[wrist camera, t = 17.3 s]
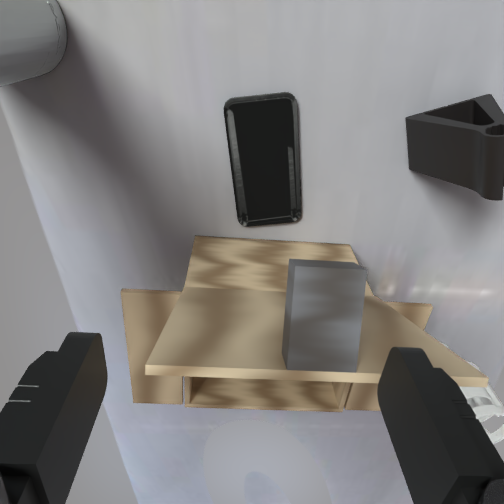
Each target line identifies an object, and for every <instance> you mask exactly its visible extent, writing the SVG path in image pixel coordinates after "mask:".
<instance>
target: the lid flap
mask: <svg viewBox="0 0 504 504" xmlns="http://www.w3.org/2000/svg"><path fill="white" fill-rule="evenodd" d="M366 279H367V269H365V268H363V267H361V266H360V265H358V264H356V263H355V262H341V261H323V260H305V259H289V265H288V278H287V290H286V292H280V291H260V290H240V289H220V288H200V287H184V288H183V290H182V292H181V294H180V296H179V298H178V300H177V302H176V304H175V306H174V308H173V310H172V312H171V314H170V316H169V318H168V320H167V322H166V324H165V326H164V328H163V330H162V332H161V335H160V337H159V339H158V341H157V343H156V345H155V347H154V349H153V351H152V353H151V355H150V357H149V359H148V361H147V363H146V365H145V375H161V376H189V377H216V378H243V379H271V380H298V381H325V382H352V383H379V380H380V377H381V374H382V371H383V368H384V366H385V363H386V360H387V357H388V354H389V352H390V350H391V348H392V347H413V348H421V349H423V350H424V351H425V353H426V355H427V357H428V358H429V360H430V362H431V364H432V366H433V368H442V369H443V370H444V371H445V372H446V373H447V374H448V375H449V376H450V377H451V378H452V379H453V380H454V381H455V382H456V383H457V384H458V386H462V387H487V385H488V379H489V378H488V377H487V376H486V375H484V374H483V373H481V372H480V371H479V370H477V369H476V368H474V367H473V366H472V365H470V364H469V363H468V362H466V361H465V360H463V359H462V358H461V357H459V356H458V355H457V354H455V353H454V352H452V351H451V350H450V349H448V348H447V347H446V346H444V345H443V344H441V343H440V342H439V341H437V340H436V339H434V338H433V337H432V336H430V335H429V334H428V333H426V332H425V331H423V330H422V329H421V328H419V327H418V326H417V325H415V324H414V323H412V322H411V321H410V320H408V319H407V318H406V317H404V316H403V315H401V314H400V313H399V312H397V311H396V310H394V309H393V308H392V307H390V306H389V305H388V304H386V303H385V302H383V301H382V300H381V299H379V298H378V297H377V296H365V288H366Z"/></svg>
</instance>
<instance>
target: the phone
mask: <svg viewBox="0 0 504 504" xmlns="http://www.w3.org/2000/svg"><path fill="white" fill-rule="evenodd" d="M224 117H225V125H226V133H227V140H228V148H229V156H230V163H231V171H232V179H233V187H234V194H235V202H236V210H237V217H238V221H239V223H240V224H241V225H243V226H257V225H267V224H278V223H288V222H295V221H297V220H298V219H299V218H300V216H301V199H300V196H301V189H300V187H301V183H300V172H299V144H298V117H297V101H296V99H295V97H294V96H293V95H292V94H291V93H288V92H281V93H272V94H263V95H254V96H244V97H235V98H231V99H229V100H227V102H226V103H225V106H224Z"/></svg>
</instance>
